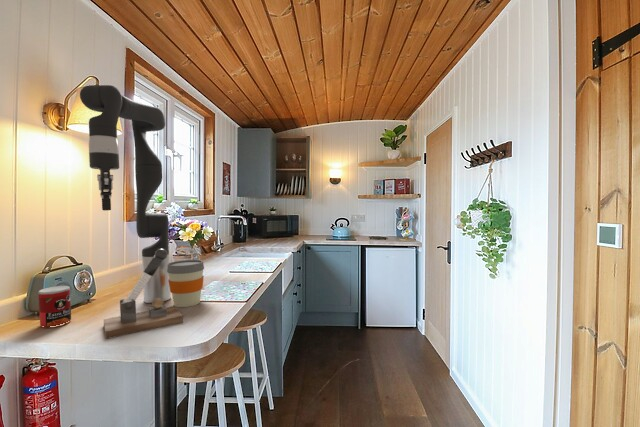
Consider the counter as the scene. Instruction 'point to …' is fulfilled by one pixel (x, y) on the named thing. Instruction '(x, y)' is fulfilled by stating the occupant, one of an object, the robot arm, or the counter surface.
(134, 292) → the lever
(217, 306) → the counter surface
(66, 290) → the canned food
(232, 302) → the counter surface
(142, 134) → the robot arm
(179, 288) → the reusable coffee cup
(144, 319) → the nutcracker bench
